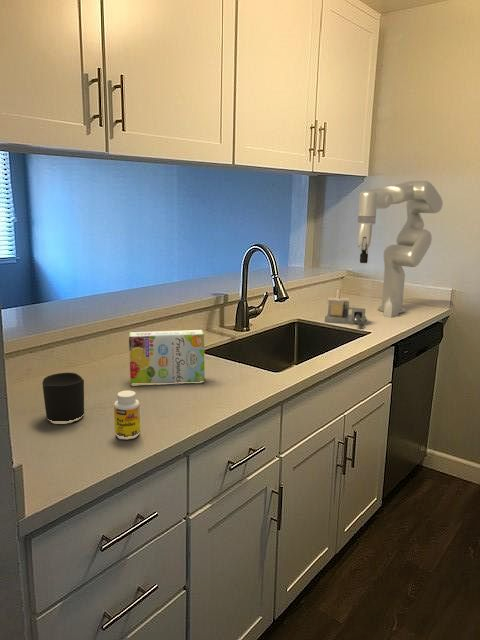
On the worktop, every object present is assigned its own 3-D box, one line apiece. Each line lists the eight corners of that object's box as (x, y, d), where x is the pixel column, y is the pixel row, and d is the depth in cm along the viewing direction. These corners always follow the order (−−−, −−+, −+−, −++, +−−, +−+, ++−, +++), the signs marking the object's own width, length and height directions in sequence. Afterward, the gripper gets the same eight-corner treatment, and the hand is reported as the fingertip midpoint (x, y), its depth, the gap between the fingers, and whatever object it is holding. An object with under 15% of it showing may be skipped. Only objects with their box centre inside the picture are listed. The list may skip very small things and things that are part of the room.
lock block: (332, 314, 238) (333, 300, 236) (343, 315, 236) (344, 301, 235) (330, 317, 231) (331, 303, 230) (341, 318, 230) (342, 304, 228)
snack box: (202, 377, 159) (202, 329, 155) (204, 384, 153) (204, 333, 150) (130, 380, 155) (128, 330, 151) (130, 387, 150) (128, 336, 146)
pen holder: (92, 411, 132) (90, 374, 130) (74, 427, 123) (72, 387, 121) (57, 408, 134) (54, 371, 132) (37, 424, 125) (34, 384, 123)
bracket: (328, 316, 241) (329, 300, 239) (365, 319, 236) (366, 302, 235) (324, 322, 229) (325, 305, 228) (363, 325, 225) (365, 308, 223)
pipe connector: (349, 312, 249) (351, 291, 247) (328, 312, 249) (329, 291, 247) (345, 308, 259) (347, 288, 257) (325, 307, 259) (326, 287, 257)
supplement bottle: (113, 441, 117) (111, 398, 114) (117, 430, 122) (115, 389, 120) (138, 441, 117) (137, 398, 115) (141, 430, 123) (140, 388, 120)
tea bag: (398, 315, 245) (400, 294, 243) (391, 317, 240) (392, 296, 238) (390, 314, 247) (392, 293, 245) (383, 316, 243) (385, 295, 240)
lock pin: (354, 317, 231) (354, 309, 230) (362, 318, 230) (363, 310, 229) (351, 325, 218) (352, 316, 217) (360, 325, 217) (361, 317, 216)
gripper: (359, 219, 236) (356, 260, 240) (356, 221, 222) (353, 264, 226) (376, 220, 234) (373, 261, 238) (374, 221, 220) (371, 265, 224)
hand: (363, 262), depth 232 cm, fingers closed
